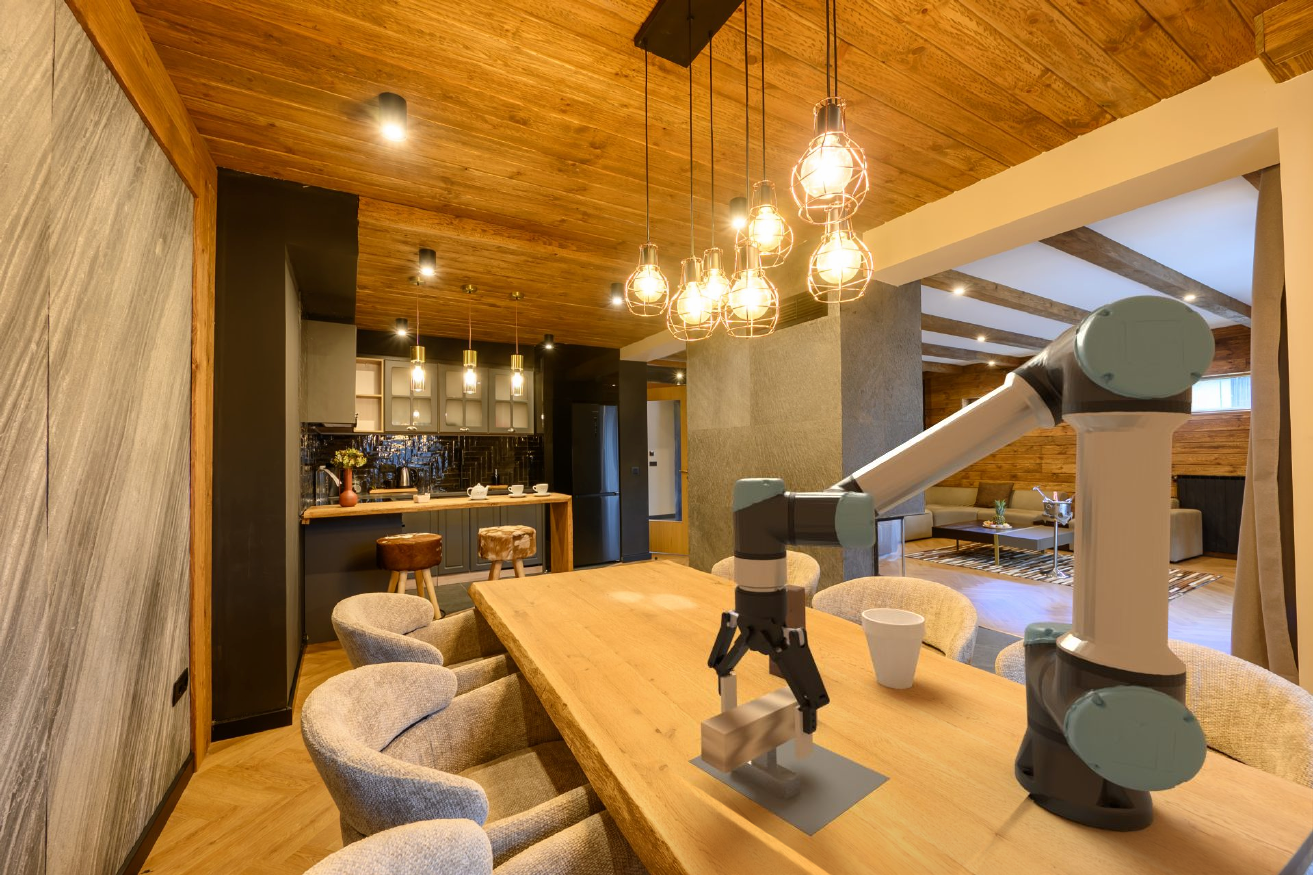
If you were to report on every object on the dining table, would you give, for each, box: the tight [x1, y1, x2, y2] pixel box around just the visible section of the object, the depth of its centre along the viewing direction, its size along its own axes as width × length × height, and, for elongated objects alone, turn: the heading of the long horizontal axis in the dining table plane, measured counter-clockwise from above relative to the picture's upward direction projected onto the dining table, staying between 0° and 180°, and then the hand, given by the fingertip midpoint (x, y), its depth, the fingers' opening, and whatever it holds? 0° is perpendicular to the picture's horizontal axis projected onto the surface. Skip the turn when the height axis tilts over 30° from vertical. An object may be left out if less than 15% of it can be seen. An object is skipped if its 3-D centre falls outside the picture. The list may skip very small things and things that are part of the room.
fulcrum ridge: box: [732, 748, 800, 802], centre depth 79 cm, size 10×3×6 cm, turn 39°
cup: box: [861, 607, 927, 690], centre depth 116 cm, size 12×12×14 cm
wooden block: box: [768, 584, 807, 680], centre depth 123 cm, size 9×4×18 cm, turn 137°
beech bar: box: [700, 685, 819, 774], centre depth 80 cm, size 20×4×5 cm, turn 129°
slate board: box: [688, 738, 891, 837], centre depth 82 cm, size 22×19×1 cm
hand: (764, 736), depth 79 cm, fingers open, 13 cm apart
